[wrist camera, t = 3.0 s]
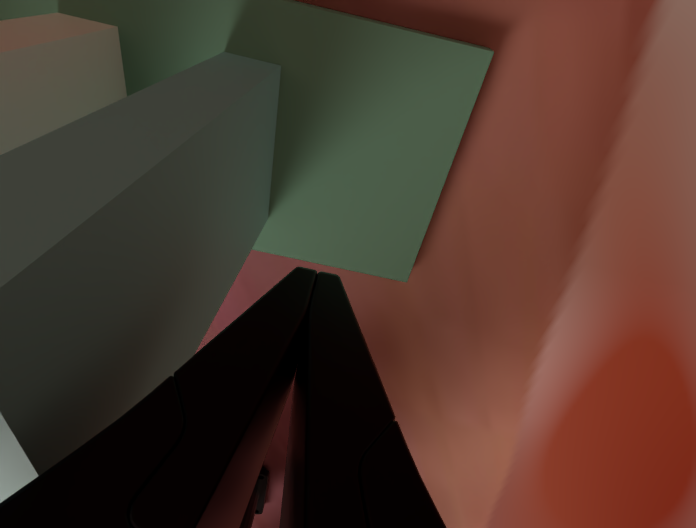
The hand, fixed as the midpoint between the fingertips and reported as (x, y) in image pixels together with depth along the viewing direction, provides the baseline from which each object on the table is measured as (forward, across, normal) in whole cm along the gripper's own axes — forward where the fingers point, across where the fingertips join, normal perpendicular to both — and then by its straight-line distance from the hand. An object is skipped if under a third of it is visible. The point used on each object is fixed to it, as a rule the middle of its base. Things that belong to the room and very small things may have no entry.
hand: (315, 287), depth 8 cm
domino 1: (+6, +3, 0) cm, 7 cm away
